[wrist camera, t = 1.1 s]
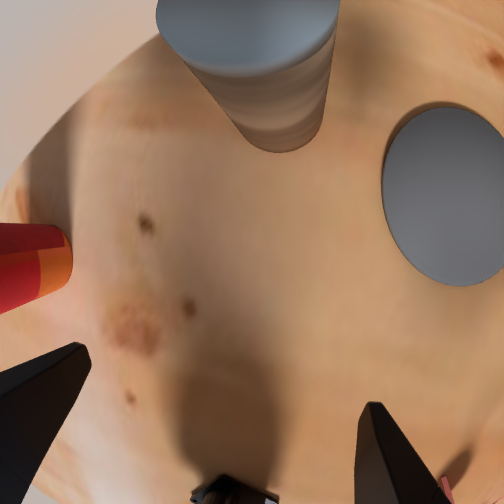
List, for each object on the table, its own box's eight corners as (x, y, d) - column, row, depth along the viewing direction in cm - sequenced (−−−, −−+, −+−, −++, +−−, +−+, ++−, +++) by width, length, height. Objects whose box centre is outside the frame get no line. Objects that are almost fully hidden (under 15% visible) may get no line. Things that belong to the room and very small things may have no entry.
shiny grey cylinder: (319, 157, 18) (341, 69, 7) (231, 149, 19) (138, 70, 7) (324, 78, 18) (337, -55, 6) (240, 73, 18) (176, -48, 7)
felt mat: (469, 316, 18) (473, 319, 17) (345, 212, 18) (346, 211, 18) (538, 186, 15) (543, 185, 15) (431, 77, 16) (434, 74, 16)
